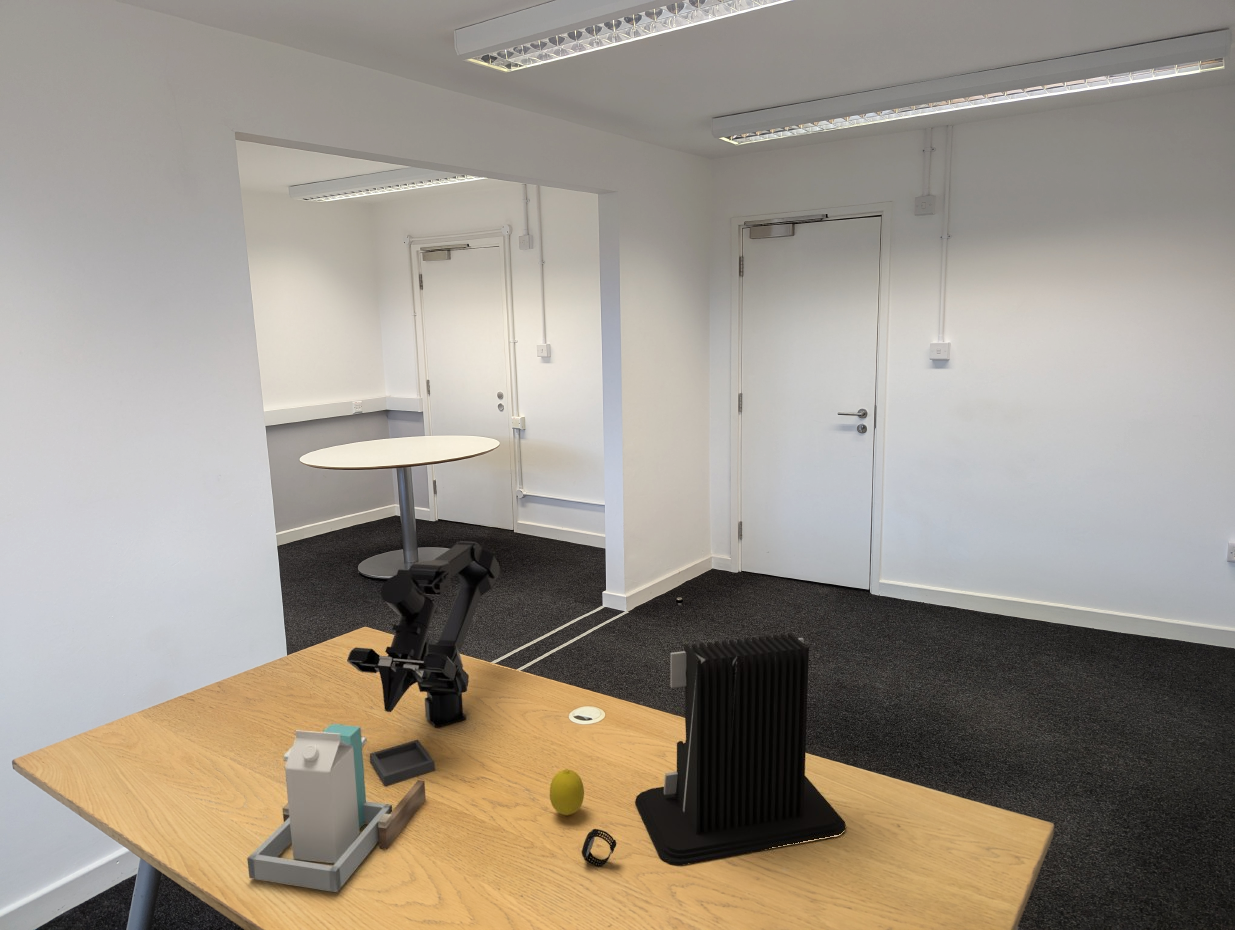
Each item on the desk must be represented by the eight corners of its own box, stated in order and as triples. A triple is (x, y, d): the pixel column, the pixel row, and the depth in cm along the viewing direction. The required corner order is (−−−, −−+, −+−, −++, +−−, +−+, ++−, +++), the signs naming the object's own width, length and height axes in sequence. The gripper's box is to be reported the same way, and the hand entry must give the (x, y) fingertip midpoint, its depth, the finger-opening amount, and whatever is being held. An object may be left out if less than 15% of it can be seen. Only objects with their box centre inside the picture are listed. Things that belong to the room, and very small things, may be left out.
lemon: (589, 808, 132) (588, 763, 130) (576, 828, 127) (575, 782, 125) (558, 802, 133) (557, 758, 132) (544, 821, 128) (543, 776, 127)
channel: (331, 787, 138) (329, 763, 138) (425, 799, 135) (424, 775, 134) (284, 834, 126) (282, 808, 125) (387, 849, 122) (385, 822, 121)
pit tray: (418, 748, 151) (417, 739, 151) (434, 770, 143) (434, 761, 143) (370, 762, 146) (369, 753, 146) (384, 786, 139) (383, 776, 138)
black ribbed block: (797, 771, 142) (802, 609, 137) (852, 835, 124) (861, 652, 119) (631, 797, 135) (629, 627, 130) (664, 869, 117) (663, 676, 112)
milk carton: (318, 830, 127) (308, 718, 123) (360, 834, 126) (351, 722, 122) (292, 860, 120) (282, 742, 117) (337, 864, 119) (327, 746, 115)
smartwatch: (594, 850, 121) (593, 820, 120) (620, 864, 118) (619, 833, 117) (575, 864, 118) (574, 833, 117) (602, 879, 115) (601, 848, 114)
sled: (314, 812, 131) (306, 720, 128) (393, 823, 127) (386, 729, 125) (249, 878, 115) (238, 776, 112) (337, 892, 112) (328, 787, 109)
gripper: (474, 647, 152) (453, 730, 144) (384, 639, 156) (358, 720, 148) (455, 623, 143) (431, 711, 135) (360, 616, 147) (331, 700, 139)
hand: (387, 711), depth 139 cm, fingers closed
